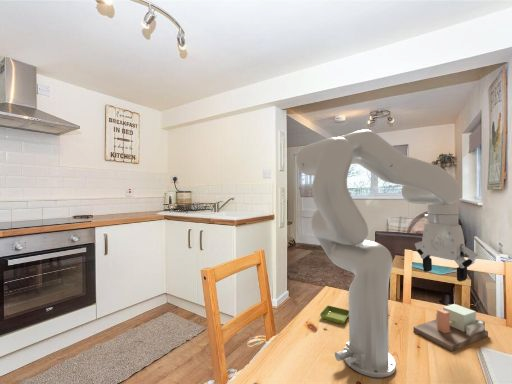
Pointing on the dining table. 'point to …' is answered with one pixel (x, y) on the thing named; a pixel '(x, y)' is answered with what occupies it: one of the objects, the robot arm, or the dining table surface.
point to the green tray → (335, 314)
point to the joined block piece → (454, 318)
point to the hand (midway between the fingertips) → (443, 275)
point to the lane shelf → (452, 334)
